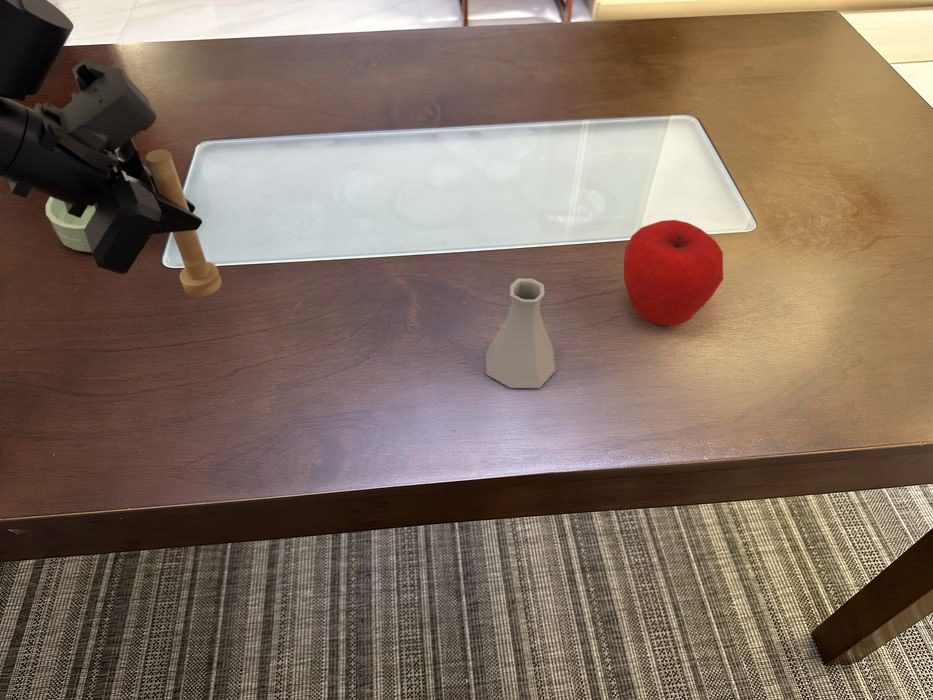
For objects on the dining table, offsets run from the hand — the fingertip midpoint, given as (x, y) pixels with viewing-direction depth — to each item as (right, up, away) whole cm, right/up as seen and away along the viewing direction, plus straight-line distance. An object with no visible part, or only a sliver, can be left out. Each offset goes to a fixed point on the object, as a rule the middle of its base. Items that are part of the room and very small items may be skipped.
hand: (196, 218), depth 66 cm
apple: (+45, -8, +12) cm, 48 cm away
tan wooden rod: (-1, -6, +5) cm, 8 cm away
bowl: (-18, +3, +21) cm, 28 cm away
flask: (+30, -14, +7) cm, 34 cm away
